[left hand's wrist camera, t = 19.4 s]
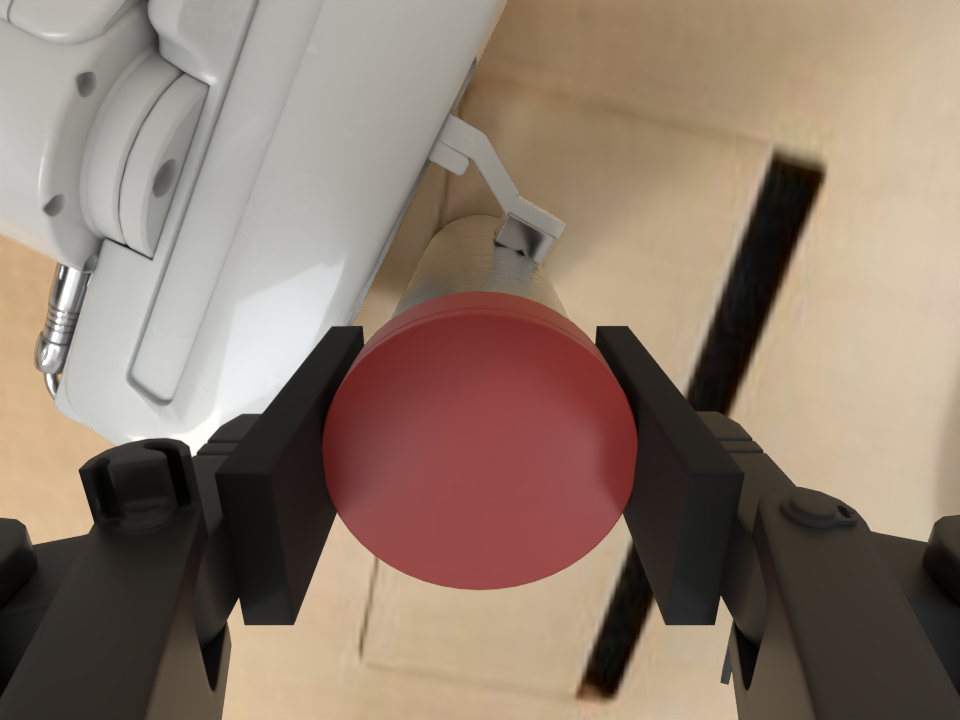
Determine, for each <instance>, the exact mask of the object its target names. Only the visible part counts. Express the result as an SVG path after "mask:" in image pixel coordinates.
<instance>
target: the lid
mask: <svg viewBox="0 0 960 720" xmlns="http://www.w3.org/2000/svg"><path fill="white" fill-rule="evenodd" d="M637 447H638V431H637V427H636V423H635V419H634V415H633V412H632V409H631V407H630V405H629V402H628V400H627V398H626V395H625V393H624V392H623V390H622V388H621V386H620V385H619V383H618V381H617V379H616V378H615V376H614V374H613V372H612V371H611V369H610V367H609V365H608V364H607V362H606V361H605V359H604V357H603V356H602V354H601V352H600V351H599V349H598V348H597V347H596V345H595V344H594V343H593V342H592V341H591V339H590V338H589V337H588V336H587V335H586V334H585V333H584V332H583V331H582V330H581V329H580V328H579V327H577V326H576V325H575V324H574V323H573V322H571V321H570V320H569V319H567V318H566V317H564V316H563V315H561V314H560V313H558V312H557V311H555V310H553V309H551V308H549V307H547V306H545V305H543V304H541V303H538V302H535V301H532V300H529V299H527V298H524V297H520V296H515V295H511V294H506V293H499V292H486V291H476V292H461V293H455V294H450V295H444V296H440V297H437V298H434V299H431V300H428V301H424V302H422V303H420V304H418V305H416V306H414V307H411V308H409V309H407V310H405V311H404V312H402V313H401V314H399V315H397V316H396V317H394V318H393V319H391V320H390V321H389V322H387V323H386V324H385V325H384V326H383V327H382V328H380V329H379V330H378V331H377V332H376V333H375V334H374V335H373V336H372V337H371V338H370V340H369V341H368V342H367V343H366V344H365V345H364V347H363V348H362V350H361V351H360V353H359V354H358V356H357V357H356V359H355V360H354V362H353V364H352V366H351V367H350V369H349V371H348V373H347V374H346V376H345V378H344V380H343V381H342V383H341V385H340V387H339V388H338V390H337V392H336V394H335V396H334V398H333V401H332V403H331V405H330V407H329V409H328V413H327V416H326V420H325V423H324V427H323V434H322V453H323V462H324V470H325V478H326V486H327V490H328V493H329V496H330V499H331V501H332V503H333V505H334V507H335V509H336V511H337V513H338V515H339V516H340V518H341V519H342V521H343V522H344V524H345V525H346V526H347V528H348V529H349V531H350V532H351V533H352V534H353V535H354V536H355V537H356V538H357V540H358V541H359V542H360V543H361V544H362V545H363V546H365V547H366V548H367V549H368V550H369V551H370V552H371V553H373V554H374V555H375V556H376V557H378V558H379V559H381V560H382V561H384V562H385V563H387V564H388V565H390V566H392V567H393V568H395V569H397V570H399V571H401V572H403V573H405V574H407V575H410V576H412V577H415V578H417V579H420V580H422V581H425V582H429V583H433V584H436V585H440V586H445V587H451V588H457V589H470V590H490V589H502V588H509V587H516V586H520V585H523V584H527V583H531V582H535V581H537V580H540V579H543V578H546V577H548V576H551V575H553V574H555V573H557V572H559V571H561V570H563V569H565V568H567V567H569V566H570V565H572V564H573V563H575V562H576V561H578V560H579V559H581V558H582V557H584V556H585V555H586V554H587V553H589V552H590V551H591V550H592V549H593V548H595V547H596V546H597V545H598V544H599V543H600V542H601V541H602V540H603V539H604V537H605V536H606V535H607V534H608V533H609V532H610V531H611V529H612V528H613V526H614V525H615V524H616V522H617V521H618V520H619V518H620V516H621V515H622V513H623V511H624V509H625V507H626V505H627V503H628V501H629V498H630V496H631V493H632V489H633V482H634V473H635V464H636V456H637Z"/></svg>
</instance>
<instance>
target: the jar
mask: <svg viewBox="0 0 960 720" xmlns="http://www.w3.org/2000/svg"><path fill="white" fill-rule="evenodd" d="M500 219H501V218H498V217H495V216H490V215H470V216H465V217H462V218H459V219H456V220H454V221H452V222H450V223H449V224H447V225H446V226H444V227H443V228H442V229H441V230H439V231H438V232H437V233H436V234H435V236H434V237H433V238H432V239H431V241H430V243H429V244H428V246H427V248H426V250H425V252H424V254H423V256H422V258H421V260H420V262H419V264H418V266H417V268H416V270H415V272H414V274H413V276H412V278H411V280H410V282H409V284H408V286H407V288H406V290H405V292H404V294H403V296H402V298H401V300H400V302H399V304H398V306H397V308H396V310H395V312H394V314H393V316H392V318H391V319H393V318H394V317H396V316H397V315H399V314H401V313H402V312H404V311H405V310H407V309H409V308H411V307H414V306H416V305H418V304H420V303H422V302H424V301H428V300H431V299H434V298H437V297H440V296H444V295H450V294H455V293H461V292H476V291H486V292H499V293H506V294H511V295H515V296H520V297H524V298H527V299H529V300H532V301H535V302H538V303H541V304H543V305H545V306H547V307H549V308H551V309H553V310H555V311H557V312H558V313H560V314H561V315H563V316H564V317H566V318H567V319H569V318H568V316H567V314H566V312H565V310H564V308H563V306H562V304H561V302H560V300H559V298H558V296H557V294H556V292H555V290H554V288H553V286H552V284H551V282H550V280H549V278H548V276H547V274H546V272H545V270H544V268H543V266H542V265H539V264H537V263H535V262H533V261H531V260H530V259H528V258H527V257H525V255H524V253H523V251H522V250H516V251H515V250H513V249H510V248H507V247H506V246H504V245H502V244H500V243H498V242H497V241H495V238H494V237H495V235H494V231H495V229H496V227H497V225H498V223H499V221H500Z"/></svg>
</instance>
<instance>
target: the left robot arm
mask: <svg viewBox="0 0 960 720" xmlns="http://www.w3.org/2000/svg"><path fill="white" fill-rule="evenodd" d="M595 345H596V347H597V348H598V349H599V351H600V352H601V354H602V356H603V357H604V359H605V361H606V362H607V364H608V365H609V367H610V369H611V371H612V372H613V374H614V376H615V378H616V379H617V381H618V383H619V385H620V386H621V388H622V390H623V392H624V393H625V395H626V398H627V400H628V402H629V405H630V407H631V409H632V412H633V415H634V419H635V423H636V427H637V431H638V447H637V456H636V464H635V473H634V482H633V489H632V493H631V496H630V498H629V501H628V503H627V505H626V507H625V509H624V511H623V515H624V518H625V520H626V523H627V526H628V528H629V531H630V533H631V536H632V539H633V541H634V544H635V546H636V549H637V552H638V554H639V557H640V560H641V562H642V565H643V567H644V570H645V573H646V575H647V578H648V580H649V583H650V586H651V588H652V591H653V594H654V596H655V599H656V601H657V604H658V607H659V609H660V612H661V614H662V617H663V620H664V622H665V625H715V621H716V616H717V611H718V606H719V601H720V596H722V598H723V600H724V602H725V604H726V606H727V608H728V610H729V611H730V613H731V615H732V617H733V623H732V628H731V632H730V637H729V642H728V646H727V651H726V656H725V660H724V665H723V669H722V676H721V683H724V684H729V680H730V676H731V672H732V674H733V681H734V689H735V696H736V704H737V711H738V719H739V720H960V515H955V516H945V517H942V518H941V519H940V520H938V521H937V522H935V523H934V526H933V529H932V532H931V535H930V537H929V540H928V543H927V542H922V541H917V540H912V539H907V538H901V537H896V536H891V535H886V534H880V533H876V532H872V531H870V529H869V527H868V525H867V523H866V522H865V521H864V519H863V518H862V517H861V516H860V515H859V514H858V513H857V511H856V510H854V509H853V508H851V507H850V506H848V505H847V504H845V503H844V502H842V501H841V500H839V499H836V498H834V497H832V496H829V495H827V494H825V493H822V492H819V491H815V490H811V489H807V488H802V487H796V486H795V484H794V483H793V482H792V481H791V480H790V479H789V478H788V477H787V476H786V475H785V474H784V472H783V471H782V470H781V469H780V468H779V467H778V466H777V465H776V464H775V463H774V462H773V460H772V459H771V458H770V457H769V456H768V455H767V454H766V453H763V449H762V448H761V447H760V446H759V445H758V444H757V443H756V442H755V441H752V437H751V436H750V435H749V434H748V433H747V432H746V431H745V430H744V429H743V428H742V427H741V425H740V424H738V423H737V422H735V421H733V420H731V419H729V418H728V417H726V416H724V415H722V414H721V413H719V412H695V410H694V409H693V408H692V407H691V405H690V404H689V403H688V402H687V400H686V399H685V398H684V396H683V395H682V394H681V393H680V391H679V390H678V389H677V388H676V386H675V385H674V384H673V383H672V381H671V380H670V379H669V378H668V376H667V375H666V374H665V373H664V371H663V370H662V369H661V368H660V366H659V365H658V364H657V363H656V361H655V360H654V359H653V358H652V356H651V355H650V354H649V352H648V351H647V350H646V349H645V347H644V346H643V345H642V344H641V342H640V341H639V340H638V339H637V337H636V336H635V335H634V334H633V332H632V331H631V330H630V329H629V327H628V326H597V330H596V342H595ZM363 347H364V337H363V326H332V327H331V328H330V329H329V330H328V332H327V333H326V334H325V335H324V337H323V338H322V339H321V340H320V342H319V343H318V344H317V345H316V347H315V348H314V349H313V350H312V352H311V353H310V354H309V355H308V357H307V358H306V359H305V360H304V362H303V363H302V364H301V365H300V367H299V368H298V369H297V371H296V372H295V373H294V374H293V376H292V377H291V378H290V379H289V381H288V382H287V383H286V384H285V386H284V387H283V388H282V389H281V391H280V392H279V393H278V394H277V396H276V397H275V398H274V399H273V401H272V402H271V403H270V404H269V406H268V407H267V408H266V409H265V411H264V412H263V413H262V414H241V415H239V416H237V417H235V418H234V419H232V420H230V421H228V422H227V423H225V424H223V425H221V426H220V427H219V428H218V429H217V430H216V431H215V433H214V434H213V435H212V436H211V437H210V438H209V439H208V440H207V443H205V444H204V445H203V446H202V447H201V448H200V449H199V450H198V451H197V452H196V453H197V454H196V456H193V457H192V455H191V451H190V446H188V445H187V444H186V443H184V442H183V441H181V440H176V439H170V438H152V439H144V440H139V441H134V442H129V443H125V444H122V445H120V446H117V447H114V448H111V449H108V450H106V451H104V452H102V453H100V454H99V455H97V456H95V457H93V458H91V459H90V460H89V461H87V462H86V463H85V464H84V465H83V466H82V467H81V468H80V469H79V473H80V477H81V480H82V483H83V487H84V490H85V493H86V497H87V500H88V503H89V506H90V510H91V513H92V516H93V520H94V525H93V526H92V528H91V530H90V532H89V534H86V535H82V536H77V537H72V538H67V539H62V540H57V541H51V542H46V543H41V544H36V545H32V543H31V540H30V537H29V534H28V531H27V529H26V526H25V525H24V524H22V523H21V522H19V521H18V520H17V519H7V518H0V720H222V713H223V705H224V698H225V690H226V683H227V675H228V668H229V660H230V653H231V639H230V632H229V628H228V623H227V619H228V617H229V615H230V613H231V611H232V609H233V608H234V606H235V604H236V602H237V600H238V598H239V599H240V604H241V609H242V614H243V619H244V624H245V625H294V623H295V621H296V618H297V615H298V613H299V610H300V608H301V605H302V602H303V600H304V597H305V595H306V592H307V589H308V587H309V584H310V581H311V579H312V576H313V574H314V571H315V568H316V566H317V563H318V561H319V558H320V555H321V553H322V550H323V548H324V545H325V542H326V540H327V537H328V534H329V532H330V529H331V527H332V524H333V521H334V519H335V516H336V514H337V511H336V509H335V507H334V505H333V503H332V501H331V499H330V496H329V493H328V490H327V486H326V478H325V470H324V462H323V453H322V434H323V427H324V423H325V420H326V416H327V413H328V409H329V407H330V405H331V403H332V401H333V398H334V396H335V394H336V392H337V390H338V388H339V387H340V385H341V383H342V381H343V380H344V378H345V376H346V374H347V373H348V371H349V369H350V367H351V366H352V364H353V362H354V360H355V359H356V357H357V356H358V354H359V353H360V351H361V350H362V348H363Z"/></svg>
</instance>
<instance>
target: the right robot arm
mask: <svg viewBox="0 0 960 720" xmlns="http://www.w3.org/2000/svg"><path fill="white" fill-rule="evenodd" d="M507 2H508V0H0V235H1V236H3V237H5V238H7V239H9V240H12V241H14V242H16V243H18V244H20V245H22V246H24V247H27V248H29V249H31V250H33V251H35V252H37V253H39V254H42V255H44V256H46V257H48V258H50V259H52V260H54V261H56V262H58V263H57V267H56V271H55V274H54V278H53V282H52V286H51V289H50V295H49V303H48V312H47V319H46V323H45V326H44V329H43V331H41V332H40V334H39V336H38V339H37V342H36V345H35V350H34V365H35V367H36V368H37V370H39V371H41V372H43V373H44V380H45V384H46V387H47V389H48V391H49V393H50V395H51V397H52V398H53V400H54V405H55V407H56V409H57V410H58V411H60V412H61V413H62V414H63V415H65V416H66V417H68V418H70V419H71V420H73V421H76V422H78V423H80V424H83V425H85V426H87V427H90V428H91V429H92V430H94V431H95V432H96V433H98V434H99V435H100V436H102V437H103V438H105V439H106V440H108V441H109V442H111V443H112V444H114V445H116V446H120V445H122V444H125V443H129V442H134V441H139V440H144V439H152V438H170V439H176V440H181V441H183V442H184V443H186V444H187V445H188V446H190V451H191V455H192V457H193V456H196V454H197V453H196V452H197V451H198V450H199V449H200V448H201V447H202V446H203V445H204V444H205V443H207V440H208V439H209V438H210V437H211V436H212V435H213V434H214V433H215V431H216V430H217V429H218V428H219V427H220V426H221V425H223V424H225V423H227V422H228V421H230V420H232V419H234V418H235V417H237V416H239V415H241V414H262V413H263V412H264V411H265V409H266V408H267V407H268V406H269V404H270V403H271V402H272V401H273V399H274V398H275V397H276V396H277V394H278V393H279V392H280V391H281V389H282V388H283V387H284V386H285V384H286V383H287V382H288V381H289V379H290V378H291V377H292V376H293V374H294V373H295V372H296V371H297V369H298V368H299V367H300V365H301V364H302V363H303V362H304V360H305V359H306V358H307V357H308V355H309V354H310V353H311V352H312V350H313V349H314V348H315V347H316V345H317V344H318V343H319V342H320V340H321V339H322V338H323V337H324V335H325V334H326V333H327V332H328V330H329V329H330V328H331V327H332V326H352V324H353V322H354V320H355V318H356V316H357V314H358V312H359V310H360V308H361V306H362V303H363V301H364V299H365V297H366V295H367V293H368V291H369V289H370V287H371V285H372V283H373V281H374V279H375V276H376V274H377V272H378V270H379V268H380V266H381V264H382V262H383V260H384V258H385V256H386V254H387V252H388V249H389V247H390V245H391V243H392V241H393V239H394V237H395V235H396V233H397V231H398V229H399V227H400V225H401V222H402V220H403V218H404V216H405V214H406V212H407V210H408V208H409V206H410V204H411V202H412V200H413V198H414V195H415V193H416V191H417V189H418V187H419V185H420V183H421V181H422V179H423V177H424V175H425V173H426V170H427V168H428V166H429V164H430V162H431V161H433V162H435V163H436V164H438V165H440V166H442V167H444V168H445V169H447V170H449V171H451V172H453V173H454V174H456V175H458V176H460V175H463V174H464V173H465V171H466V169H467V167H468V165H469V164H470V162H471V160H470V159H472V160H473V161H474V163H475V164H476V166H477V168H478V169H479V171H480V173H481V174H482V176H483V178H484V180H485V181H486V183H487V185H488V186H489V188H490V190H491V191H492V193H493V195H494V196H495V198H496V200H497V201H498V203H499V205H500V206H501V208H502V210H503V211H504V213H503V215H502V217H501V219H500V221H499V223H498V225H497V227H496V229H495V231H494V235H495V237H494V238H495V241H497V242H498V243H500V244H502V245H504V246H506V247H507V248H510V249H513V250H515V251H516V250H522V251H523V253H524V255H525V257H527V258H528V259H530V260H531V261H533V262H535V263H537V264H539V265H543V264H544V262H545V260H546V259H547V257H548V255H549V254H550V252H551V251H552V249H553V247H554V246H555V244H556V242H557V241H558V239H559V237H560V235H561V234H562V232H563V230H564V229H565V227H566V224H565V223H564V222H563V221H562V220H560V219H559V218H557V217H556V216H554V215H553V214H551V213H549V212H548V211H546V210H544V209H542V208H541V207H539V206H537V205H535V204H534V203H532V202H530V201H528V200H527V199H525V198H523V197H521V196H520V195H519V192H518V190H517V188H516V187H515V185H514V183H513V181H512V180H511V178H510V176H509V174H508V173H507V171H506V169H505V167H504V166H503V164H502V162H501V160H500V159H499V157H498V155H497V153H496V152H495V150H494V148H493V146H492V145H491V143H490V141H489V139H488V137H487V136H486V134H484V133H483V132H481V131H479V130H478V129H476V128H474V127H473V126H471V125H469V124H468V123H466V122H464V121H463V120H461V119H459V118H458V117H456V116H454V115H453V114H454V112H455V110H456V108H457V106H458V104H459V102H460V100H461V98H462V96H463V94H464V92H465V89H466V87H467V85H468V83H469V81H470V79H471V77H472V75H473V73H474V71H475V69H476V67H477V65H478V62H479V60H480V58H481V56H482V54H483V52H484V50H485V48H486V46H487V44H488V42H489V40H490V38H491V35H492V33H493V31H494V29H495V27H496V25H497V23H498V21H499V19H500V17H501V15H502V13H503V10H504V8H505V6H506V4H507ZM58 374H62V376H61V379H60V382H59V378H58Z"/></svg>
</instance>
